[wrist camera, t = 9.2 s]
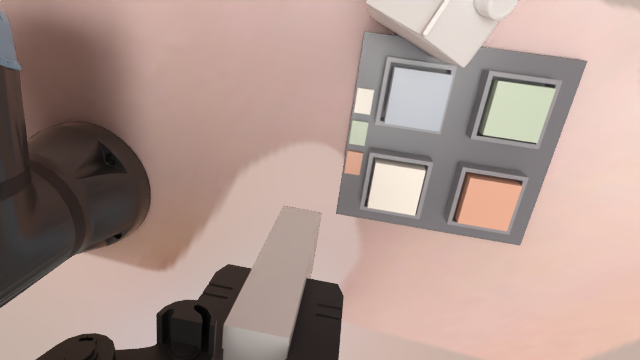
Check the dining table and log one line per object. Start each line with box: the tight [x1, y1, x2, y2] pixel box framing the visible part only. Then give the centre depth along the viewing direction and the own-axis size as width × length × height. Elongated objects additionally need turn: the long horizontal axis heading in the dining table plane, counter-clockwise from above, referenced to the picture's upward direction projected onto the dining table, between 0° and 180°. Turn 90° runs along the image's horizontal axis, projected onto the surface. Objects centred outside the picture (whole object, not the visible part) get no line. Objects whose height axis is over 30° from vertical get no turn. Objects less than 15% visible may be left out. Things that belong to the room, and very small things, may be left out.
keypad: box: [336, 32, 587, 245], centre depth 37 cm, size 20×19×3 cm
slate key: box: [384, 66, 453, 132], centre depth 33 cm, size 5×5×2 cm
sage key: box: [478, 79, 556, 143], centre depth 34 cm, size 5×5×2 cm
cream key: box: [367, 157, 426, 216], centre depth 37 cm, size 5×5×2 cm
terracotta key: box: [454, 172, 522, 231], centre depth 37 cm, size 5×5×2 cm
